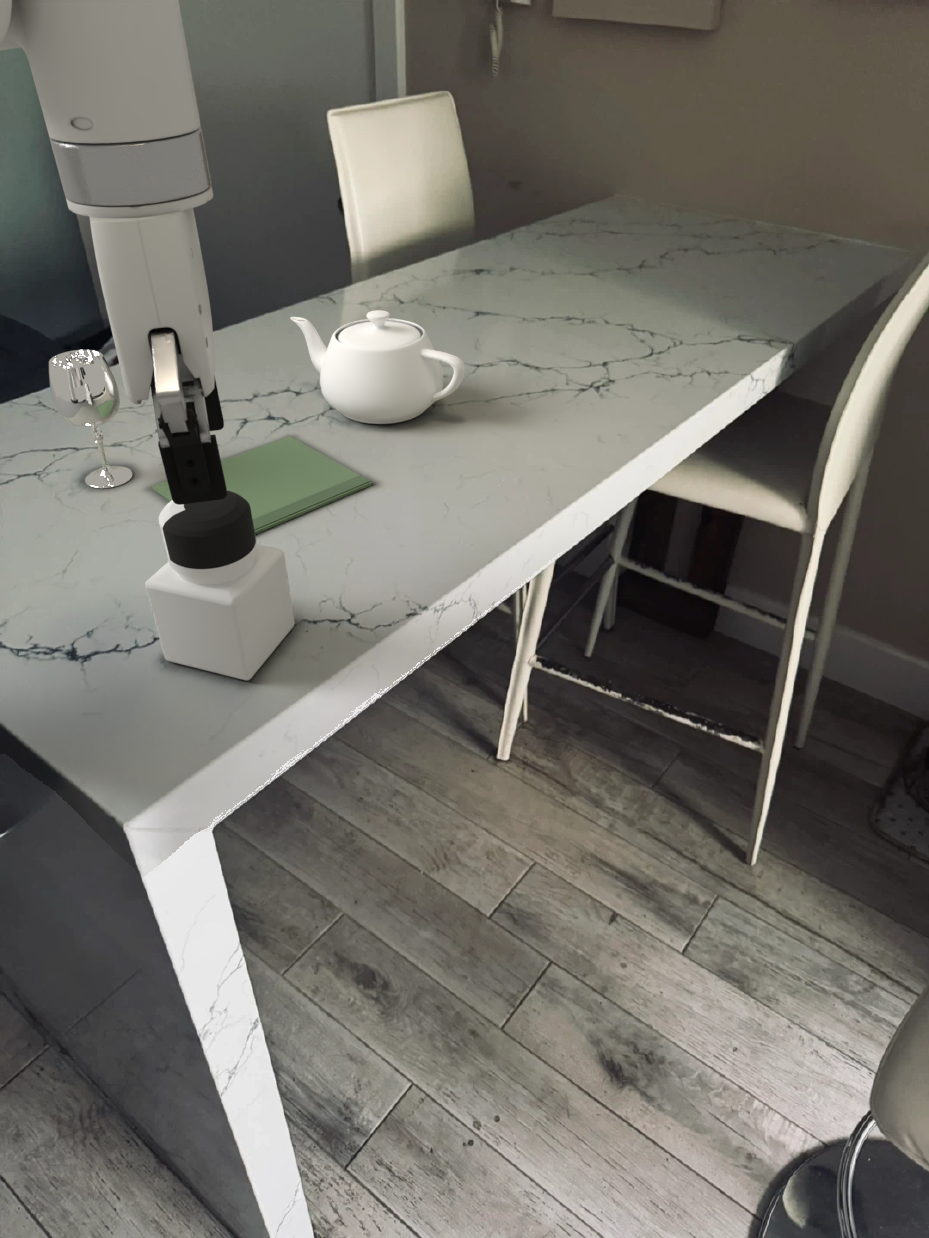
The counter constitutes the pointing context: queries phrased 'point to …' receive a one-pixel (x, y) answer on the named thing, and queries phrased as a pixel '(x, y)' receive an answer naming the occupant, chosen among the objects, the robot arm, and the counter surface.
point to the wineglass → (88, 404)
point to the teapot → (380, 368)
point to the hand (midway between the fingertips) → (201, 462)
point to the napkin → (284, 481)
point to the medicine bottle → (219, 589)
